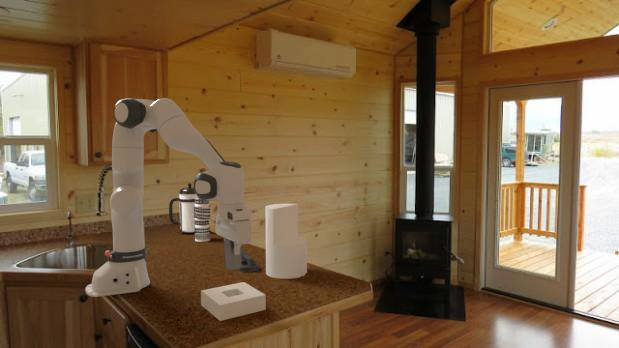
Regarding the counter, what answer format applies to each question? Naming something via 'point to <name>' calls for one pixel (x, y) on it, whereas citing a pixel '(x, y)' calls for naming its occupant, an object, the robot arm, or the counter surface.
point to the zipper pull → (247, 262)
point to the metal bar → (231, 256)
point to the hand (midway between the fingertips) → (232, 252)
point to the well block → (233, 300)
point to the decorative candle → (202, 220)
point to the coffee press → (185, 209)
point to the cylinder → (284, 242)
